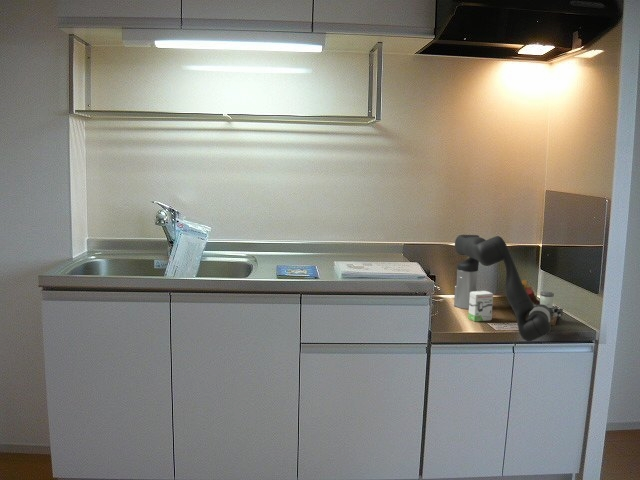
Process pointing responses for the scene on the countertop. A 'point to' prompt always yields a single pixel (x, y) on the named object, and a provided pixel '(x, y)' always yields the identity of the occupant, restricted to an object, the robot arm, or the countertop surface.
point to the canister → (547, 299)
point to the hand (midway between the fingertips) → (544, 306)
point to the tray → (553, 320)
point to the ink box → (480, 306)
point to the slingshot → (530, 293)
